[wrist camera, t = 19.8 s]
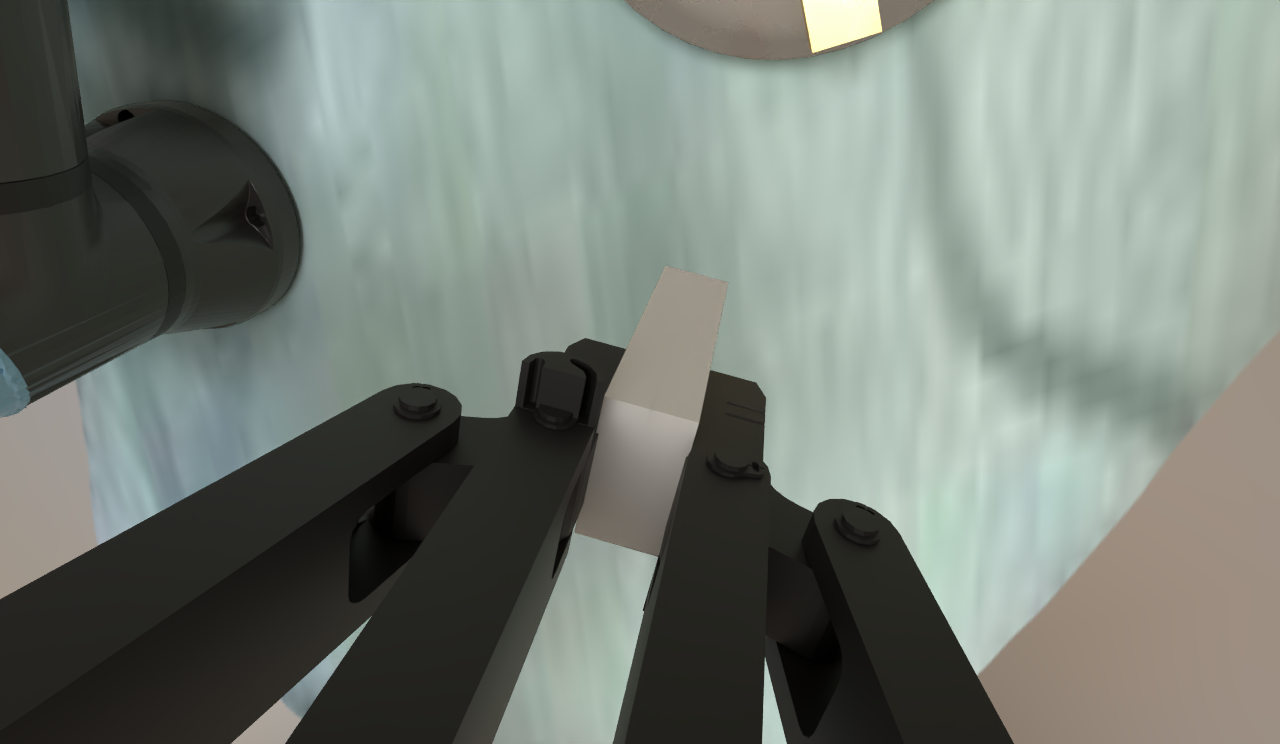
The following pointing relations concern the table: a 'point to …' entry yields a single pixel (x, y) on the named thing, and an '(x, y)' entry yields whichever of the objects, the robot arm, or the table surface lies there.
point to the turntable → (776, 24)
